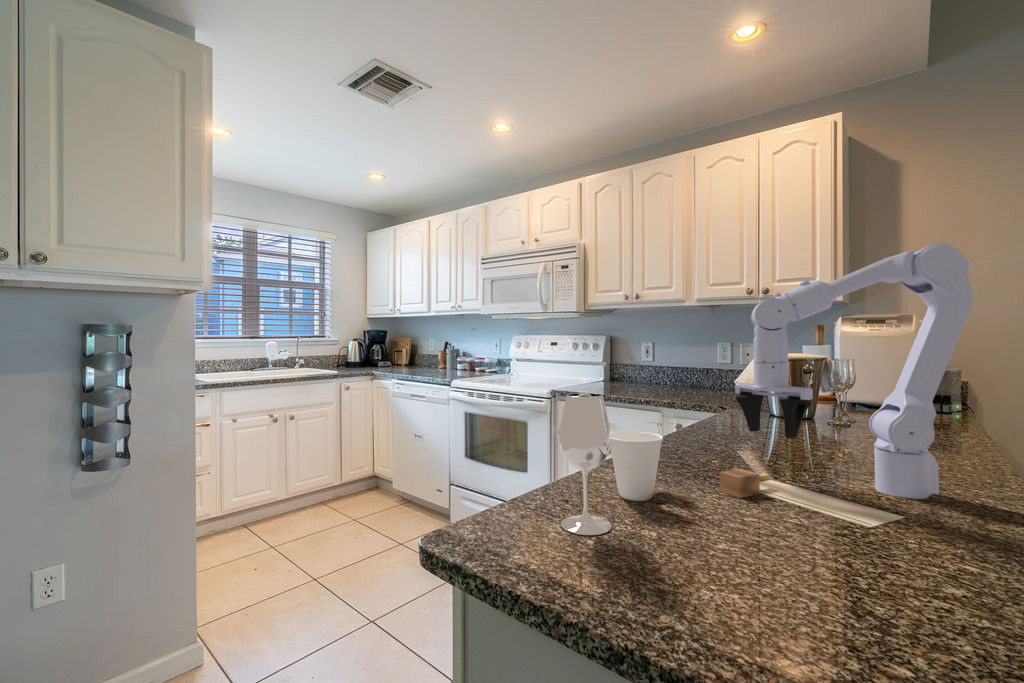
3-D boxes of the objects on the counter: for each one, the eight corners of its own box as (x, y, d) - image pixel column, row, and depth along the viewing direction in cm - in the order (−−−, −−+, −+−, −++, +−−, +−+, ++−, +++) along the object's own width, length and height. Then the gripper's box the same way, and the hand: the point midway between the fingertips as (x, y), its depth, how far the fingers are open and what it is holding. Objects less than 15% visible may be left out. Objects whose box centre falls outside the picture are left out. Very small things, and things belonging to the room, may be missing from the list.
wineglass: (617, 521, 73) (615, 393, 73) (605, 540, 65) (603, 398, 66) (569, 513, 76) (568, 391, 76) (553, 531, 69) (551, 396, 69)
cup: (667, 507, 79) (666, 442, 79) (608, 503, 81) (607, 440, 81) (660, 489, 88) (660, 431, 89) (607, 486, 90) (607, 430, 91)
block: (757, 492, 86) (756, 465, 86) (777, 499, 82) (776, 471, 83) (720, 500, 82) (719, 471, 82) (739, 507, 79) (738, 477, 79)
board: (770, 487, 89) (769, 479, 89) (905, 527, 69) (905, 517, 69) (736, 493, 85) (736, 485, 85) (869, 537, 65) (869, 527, 65)
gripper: (724, 362, 93) (725, 429, 93) (793, 364, 80) (795, 443, 80) (748, 361, 96) (749, 427, 96) (819, 363, 83) (821, 439, 83)
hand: (772, 434), depth 88 cm, fingers open, 7 cm apart
